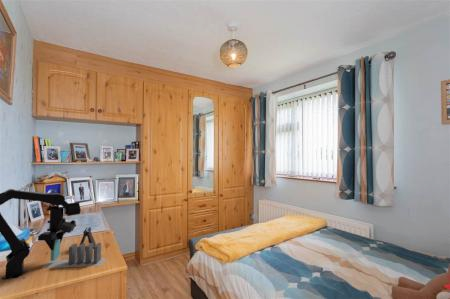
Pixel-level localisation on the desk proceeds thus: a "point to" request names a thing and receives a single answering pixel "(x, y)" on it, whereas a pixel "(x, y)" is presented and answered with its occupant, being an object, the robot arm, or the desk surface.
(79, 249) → the domino
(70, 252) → the domino
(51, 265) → the mat
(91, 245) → the domino
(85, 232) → the phone stand
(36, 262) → the desk surface
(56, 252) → the domino
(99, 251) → the domino
